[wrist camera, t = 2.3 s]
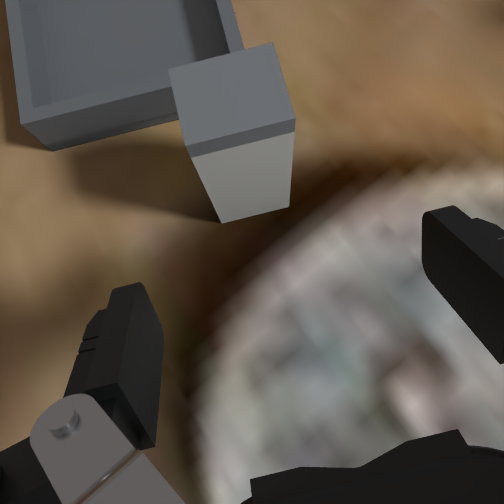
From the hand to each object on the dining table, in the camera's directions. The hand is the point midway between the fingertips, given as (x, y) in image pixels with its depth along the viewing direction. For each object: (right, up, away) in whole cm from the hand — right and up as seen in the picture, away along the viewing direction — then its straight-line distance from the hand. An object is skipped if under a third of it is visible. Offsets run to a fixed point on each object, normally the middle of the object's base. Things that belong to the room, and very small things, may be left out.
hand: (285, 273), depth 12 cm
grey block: (-1, +5, +19) cm, 19 cm away
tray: (-11, +19, +22) cm, 31 cm away
